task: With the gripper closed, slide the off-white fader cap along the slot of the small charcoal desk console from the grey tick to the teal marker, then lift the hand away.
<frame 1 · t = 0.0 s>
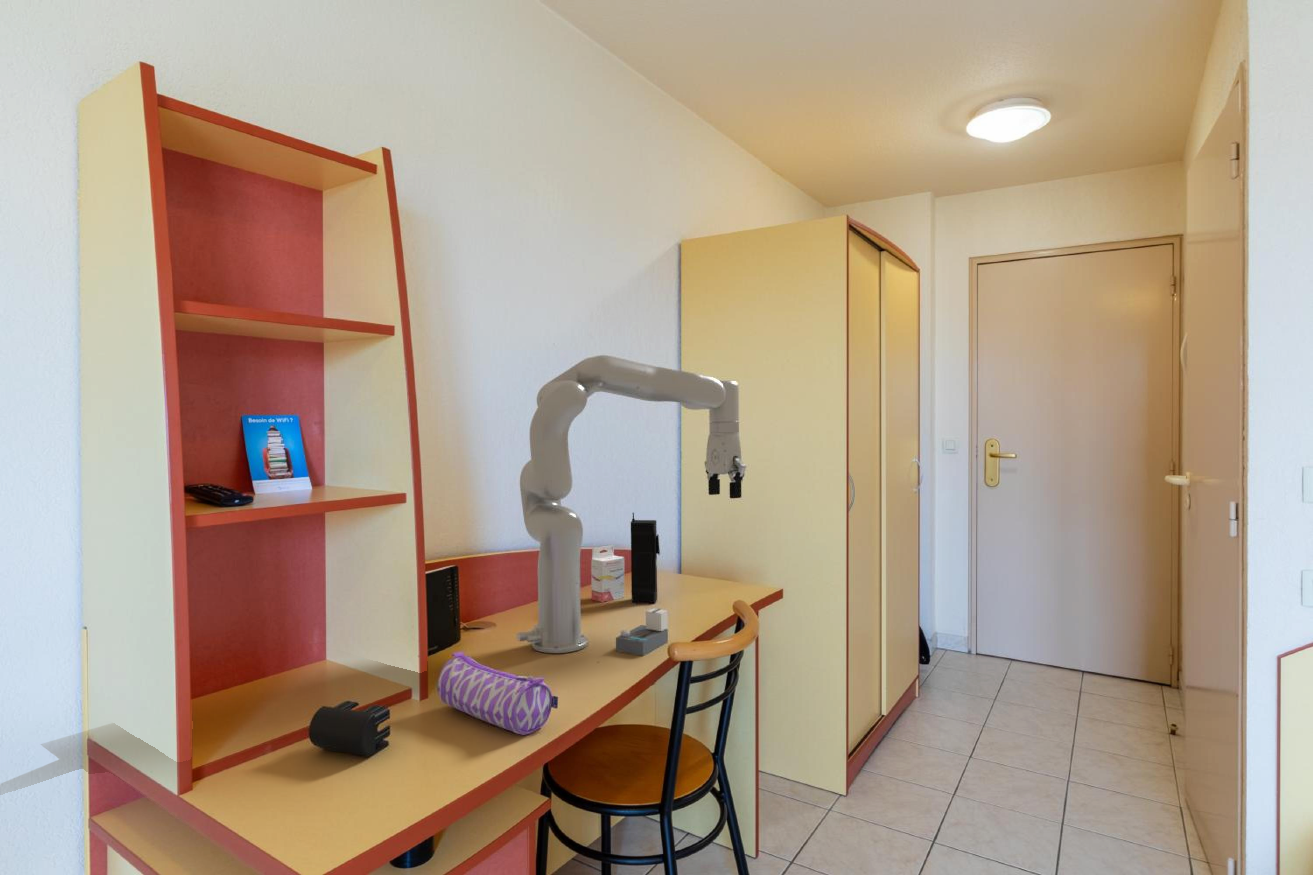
hand: (724, 496, 185), 31 cm above the table, tool pointing down, fingers open, 9 cm apart
ink cartridge box: (608, 599, 206), on the table
pencil case: (493, 720, 125), on the table
portable radio: (646, 601, 203), on the table
console: (642, 646, 163), on the table
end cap: (351, 752, 113), on the table
fader: (656, 619, 165), point 5 cm above the table, slide at 4.0 cm
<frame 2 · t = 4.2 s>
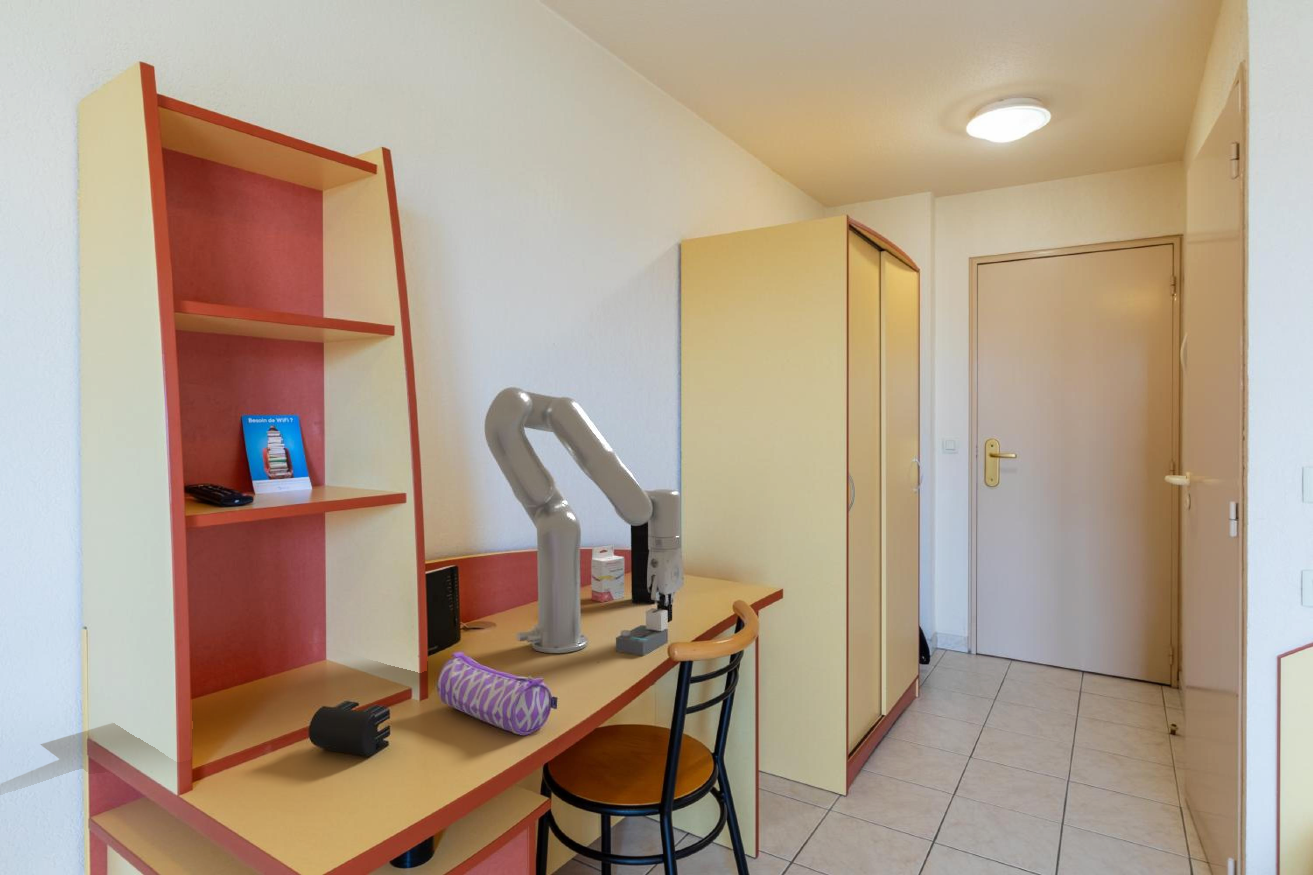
hand: (664, 620, 169), 4 cm above the table, tool pointing down, fingers closed
fader: (656, 619, 165), point 5 cm above the table, slide at 4.0 cm, touching gripper
everything else where it was.
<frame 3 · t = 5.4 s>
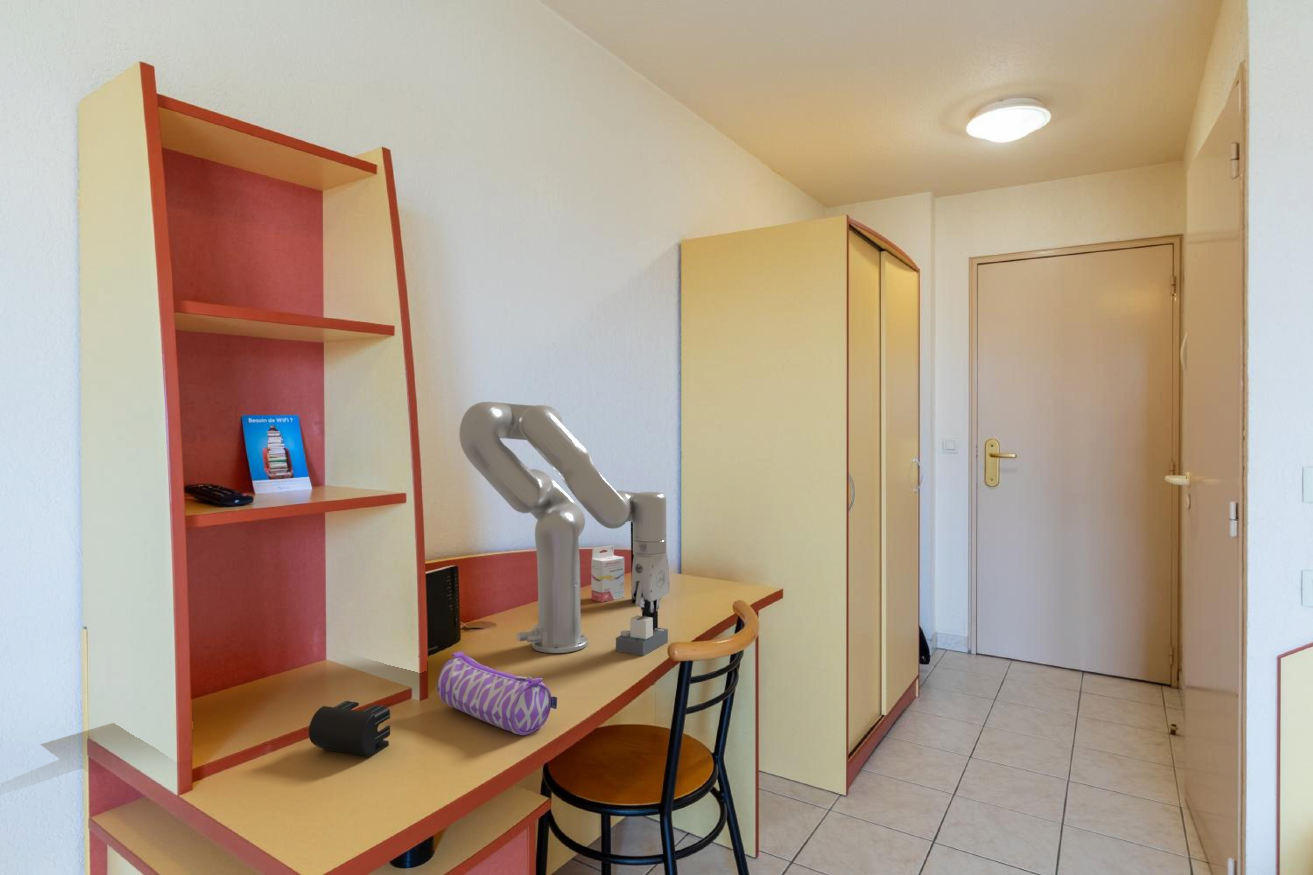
hand: (650, 628, 163), 4 cm above the table, tool pointing down, fingers closed
fader: (641, 626, 160), point 5 cm above the table, slide at -2.8 cm, touching gripper
everything else where it was.
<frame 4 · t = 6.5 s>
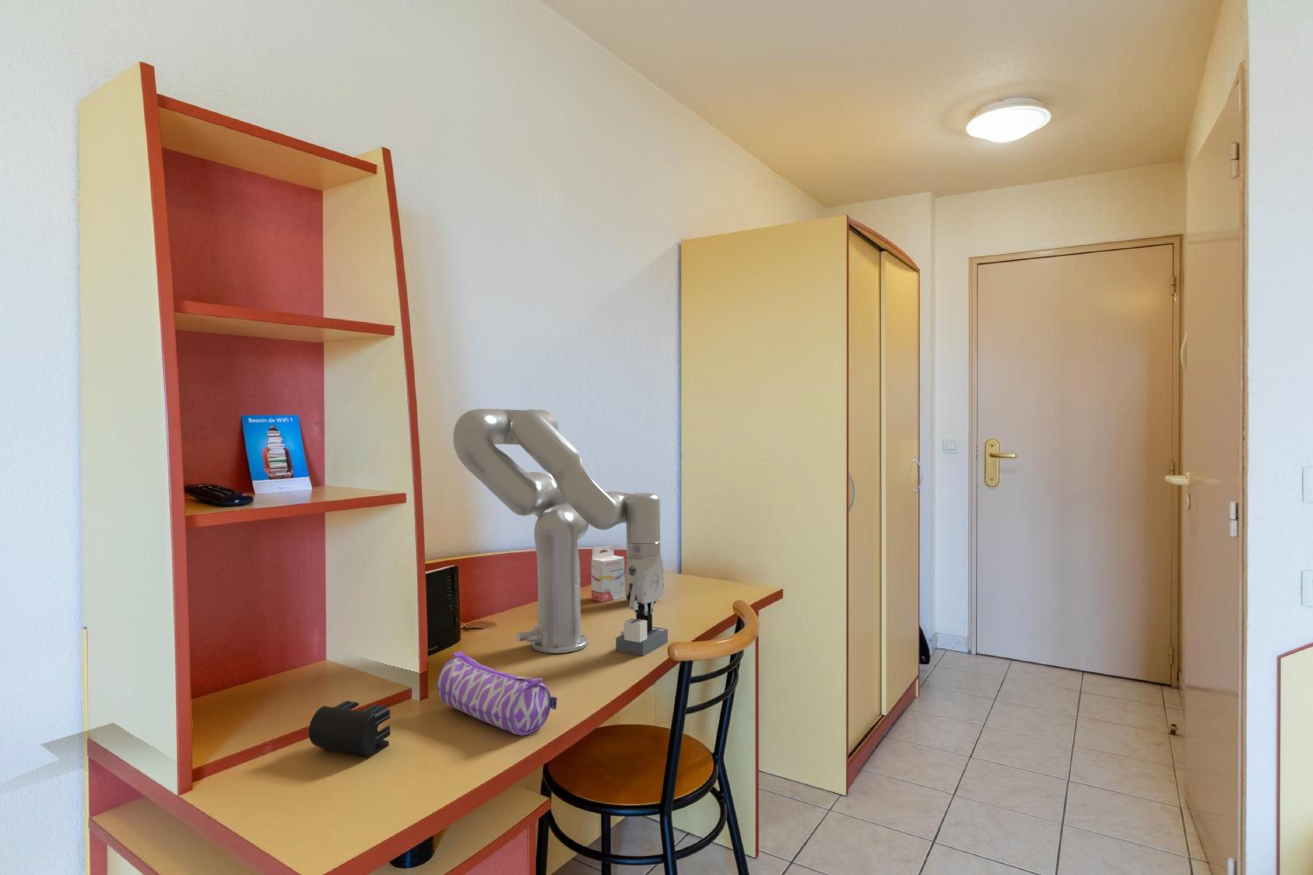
hand: (644, 630, 161), 4 cm above the table, tool pointing down, fingers closed
fader: (635, 629, 157), point 5 cm above the table, slide at -5.2 cm, touching gripper
everything else where it was.
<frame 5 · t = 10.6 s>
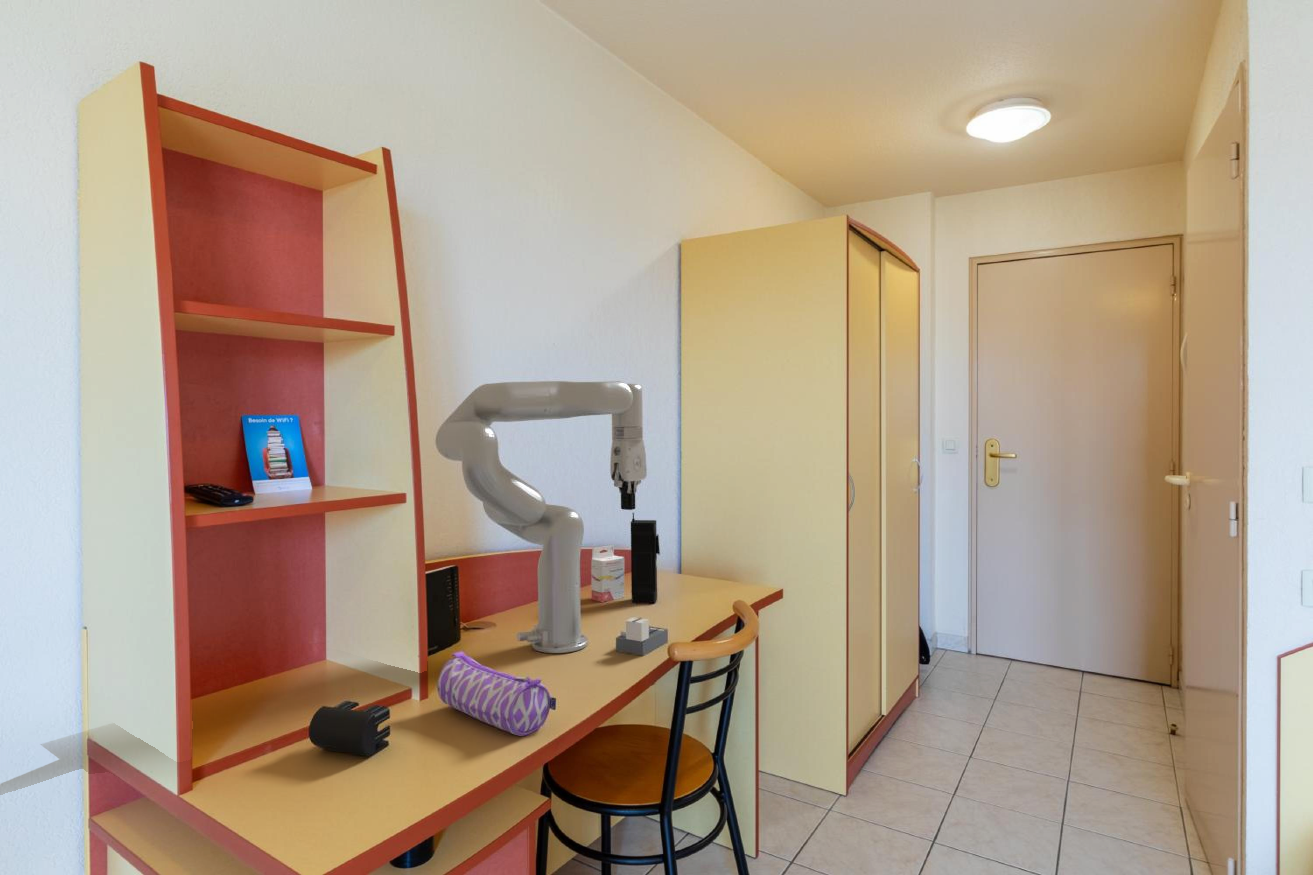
hand: (628, 509, 177), 29 cm above the table, tool pointing down, fingers closed
fader: (637, 628, 158), point 5 cm above the table, slide at -4.6 cm
everything else where it was.
at the end: fader slide at -4.6 cm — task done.
